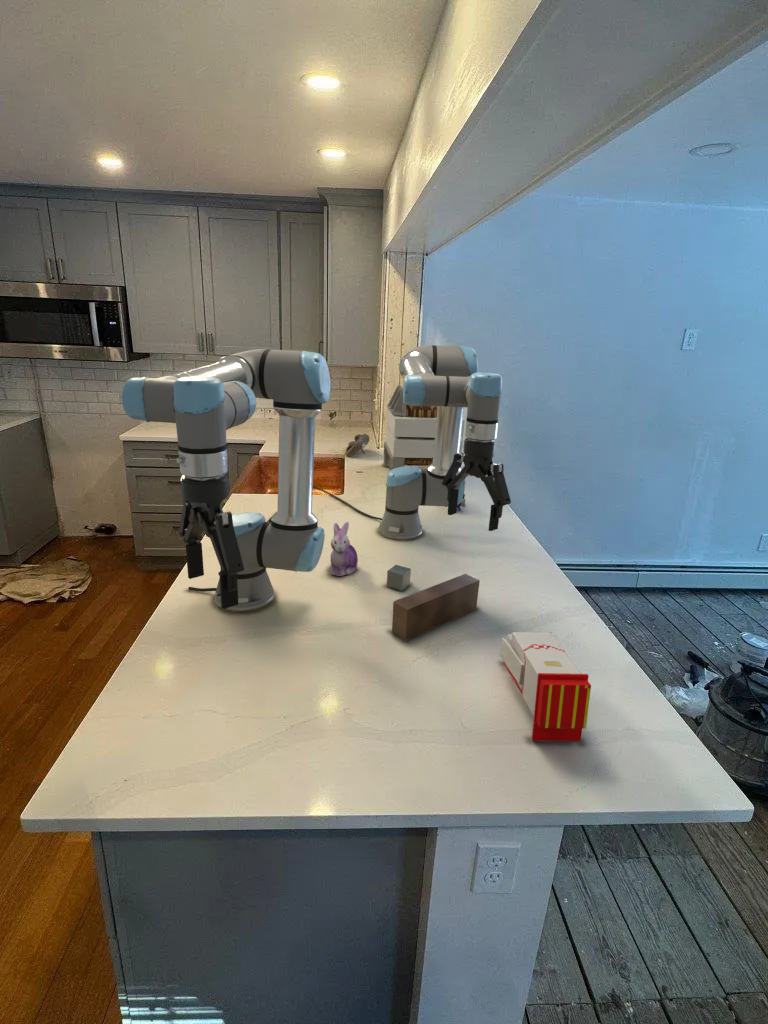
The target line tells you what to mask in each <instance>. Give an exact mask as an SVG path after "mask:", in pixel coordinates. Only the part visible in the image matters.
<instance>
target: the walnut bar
mask: <svg viewBox="0 0 768 1024" xmlns="http://www.w3.org/2000/svg"><path fill="white" fill-rule="evenodd" d="M480 581H481V580H480V579H478V578H476V577H473V576H472V575H470V574H468V573H463V574H461V575H458V576H456V577H453V578H451V579H448V580H445V581H443V582H440V583H437V584H435V585H432V586H429V587H427V588H425V589H422V590H419V591H417V592H414V593H412V594H409V595H406V596H404V597H401V598H399V599H395V600H393V602H392V618H391V619H392V621H391V633H393V634H394V635H396V636H397V637H398V638H399V639H400V638H401V640H402V641H405V642H406V641H408V640H410V639H413V638H415V637H418V636H419V635H422V634H424V633H426V632H428V631H430V630H432V629H435V628H437V627H439V626H441V625H444V624H446V623H448V622H451V621H453V620H455V619H457V618H459V617H462V616H464V615H465V614H469V613H470V612H472V611H475V610H477V608H478V599H479V590H480Z"/></svg>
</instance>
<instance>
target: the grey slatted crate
mask: <svg viewBox="0 0 768 1024" xmlns="http://www.w3.org/2000/svg"><path fill="white" fill-rule="evenodd" d="M437 408H438V406H414V405H406V404H405V403H404V402H403V386H402V385H399V384H398V385H397V386H396V388H395V390H394V392H393V394H392V395H391V398H390V400H389V402H388V404H387V405H386V413H385V414H386V415H385V423H386V428H385V438H384V442H383V466H384V467H388V468H389V471H391V470H392V469H395V468H398V467H404V466H413V467H428V466H429V465H430V464H432V463H433V453H434V442H435V430H436V419H437ZM465 421H466V420H465V419H464V418H463V421H462V431H461V440H460V449H459V453H463V444H464V440H462V439H463V438H464V433H465V432H464V431H465V430H464V429H465ZM460 468H461V469H462V466H461V467H460Z"/></svg>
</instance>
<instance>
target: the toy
mask: <svg viewBox="0 0 768 1024" xmlns="http://www.w3.org/2000/svg"><path fill="white" fill-rule="evenodd" d="M506 636H507V637H506V638H505V637H502V640H501V647H500V655H499V657H500V658H501V660H502V663H503V664H504V665H503V666H505V668H506V670H507V671H508V673H509V676H510V677H511V678H512V681H514V683H515V685H516V687H517V688H518V690H519V692H520V693H521V695H522V697H523V699H524V702H525V703H526V705H527V708H529V711H530V713H531V715H532V717H533V721H532V732H531V740H532V741H534V742H582V736H583V735H582V733H583V729H585V730H586V729H587V723H588V714H589V706H590V705H589V704H590V699H591V691H592V690H591V689H592V684H591V683H590V682H589V674H588V673H583V672H581V670H580V668H578V666H577V664H575V662H574V661H573V659H572V658H571V657H570V656H569V654H568V653H567V652H566V650H565V649H564V647H563V646H562V645H561V644H560V642H559V641H558V639H557V638H556V637H555V636H554V635H553V633H551V632H525V631H523V632H522V631H521V632H519V631H512V632H511V633H507V635H506Z"/></svg>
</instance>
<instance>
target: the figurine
mask: <svg viewBox="0 0 768 1024" xmlns="http://www.w3.org/2000/svg"><path fill="white" fill-rule="evenodd" d="M349 526H350V523H349V521H346V522H345V523H343V525H342V527H341V528H340V526H339V524H338V522H334V523H333V537H332V538H331V541H330V547H331V549H332V551H331V553H330V557H329V559H330V568H329V570H330V574H331V575H333V576H337V577H340V576H341V577H344V576H346V575H351V574H353V573H354V572H356V571H357V567H358V562H359V561H358V553H357V551H356V549H355V547H354V546H353V545H352V544H351V541H350V539H349V537H348V531H349Z"/></svg>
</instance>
